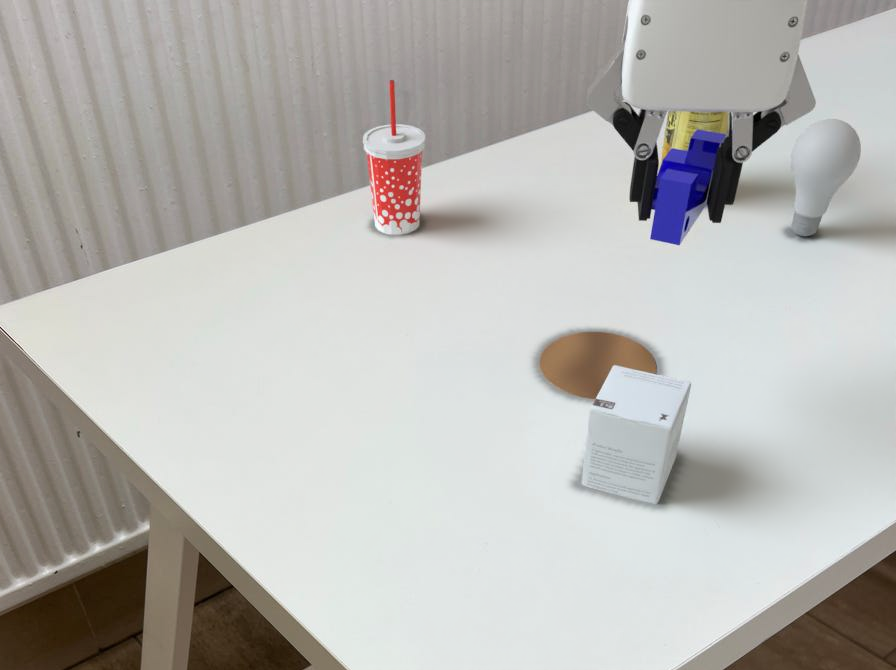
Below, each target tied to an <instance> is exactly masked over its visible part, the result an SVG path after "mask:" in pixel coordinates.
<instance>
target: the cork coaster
mask: <svg viewBox="0 0 896 670" xmlns="http://www.w3.org/2000/svg"><path fill="white" fill-rule="evenodd" d="M538 362H539V369H540V372H541V374H542V375H543V377H544V378H545V380H546V381H548V383H550V385H552V386H554V387H555V388H557V389H559V390H560V391H563V392H564V393H567V394H569V395H572V396H576V397H580V398H584V399H591V400H595V399H596V397H597V395H598V393H599V392H600V390H601V388H602V386H603V384H604V382H605V380H606V378H607V376H608V375H609V373H610V371H611V369H612V367H613V365H617V366H621V367H625V368H630V369H634V370H638V371H643V372H648V373H652V374H657V362H656V360H655V358H654V356H653V355H652V353H651V352H650V351H649V350H648V349H647V348H646V347H645V346H644V345H642V344H640V343H639V342H637V341H635V340H634V339H631V338H629V337H627V336H624V335H620V334H618V333H617V334H616V333H612V332H606V331H605V332H604V331H582V332H575V333H571V334H566V335H564V336H561V337H559V338H557V339H555V340H553V341H552V342H550V343H549V344H548V345H546V347H545V348H544V349H543V350H542V353H541V354H540V357H539V361H538Z"/></svg>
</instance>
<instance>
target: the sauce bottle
mask: <svg viewBox="0 0 896 670" xmlns="http://www.w3.org/2000/svg"><path fill="white" fill-rule="evenodd" d="M728 118H729V112H692V111H667V118H666V124H665V130H664V137H663V143H662V149H661V156H660V160H659V167H658V171H659V170H660V167H661V164H662V161H663V159H664V158H665V156H666V155H667V154H668V152H669V151H670V150H671V149H672V148H674V149H679V150H685V151H688V148H689V144H690V139H691V137H692V135H693V134H694V133H695V131H696V130H697V129H698V130H704V131H710V132H716V133H721V134H726V137H728Z"/></svg>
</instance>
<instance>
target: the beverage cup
mask: <svg viewBox="0 0 896 670" xmlns="http://www.w3.org/2000/svg"><path fill="white" fill-rule="evenodd" d="M388 84H389V85H388V86H389V106H390V108H389V109H390V110H389V111H390V124H384V125H378V126H376V127H373V128H371V129H369V130H367V131H366V132H365V133H364V134H363V136H362V145H363V150H364V151H365V153H366V161H367V168H368V175H369V178H368V179H369V185H370V193H371V194H370V195H371V201H372V210H373V218H374V226H375V229H377V231H378V232H381V233H383V234H386V235H391V236H402V235H407V234H410V233H412V232H414V231H416V230H417V229H418V228H419V227H420V219H421V218H420V216H421V215H420V214H421V190H422V167H423V165H422V164H423V150H425V149H426V147H425V146H426V134H425V133H424V131H423V130H422V129H421V128H418V127H416V126H413V125H408V124H401V123H399V124H398V123H397V118H396V117H397V116H396V114H397V113H396V92H395V91H396V90H395V87H396V86H395V80H394V79H390V80H389V82H388Z"/></svg>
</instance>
